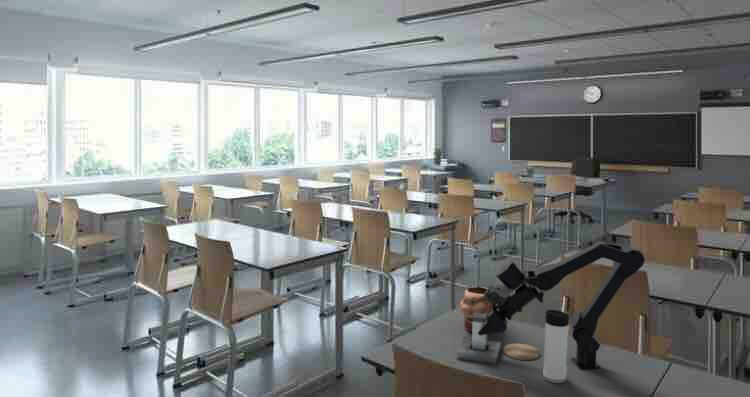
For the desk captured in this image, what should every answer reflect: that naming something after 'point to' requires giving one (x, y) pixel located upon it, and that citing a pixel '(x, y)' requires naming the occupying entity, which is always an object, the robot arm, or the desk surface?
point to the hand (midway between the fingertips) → (481, 328)
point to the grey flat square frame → (480, 356)
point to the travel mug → (556, 346)
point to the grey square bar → (478, 322)
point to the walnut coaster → (521, 351)
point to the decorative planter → (474, 305)
